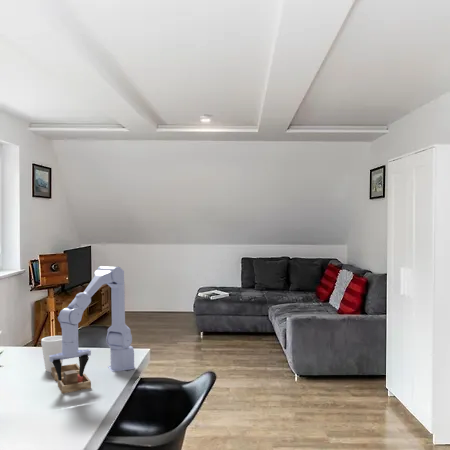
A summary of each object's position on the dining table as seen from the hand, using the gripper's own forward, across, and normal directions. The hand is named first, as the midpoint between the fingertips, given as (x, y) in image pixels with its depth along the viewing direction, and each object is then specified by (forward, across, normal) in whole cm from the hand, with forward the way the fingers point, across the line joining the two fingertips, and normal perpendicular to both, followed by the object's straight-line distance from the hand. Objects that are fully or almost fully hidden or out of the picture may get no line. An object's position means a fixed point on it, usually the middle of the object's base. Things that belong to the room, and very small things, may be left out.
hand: (70, 377), depth 166 cm
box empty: (+4, -2, -16) cm, 17 cm away
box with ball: (+4, -2, -1) cm, 5 cm away
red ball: (+4, -4, -3) cm, 6 cm away
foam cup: (+5, 0, -28) cm, 29 cm away
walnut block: (+4, 0, 0) cm, 4 cm away
